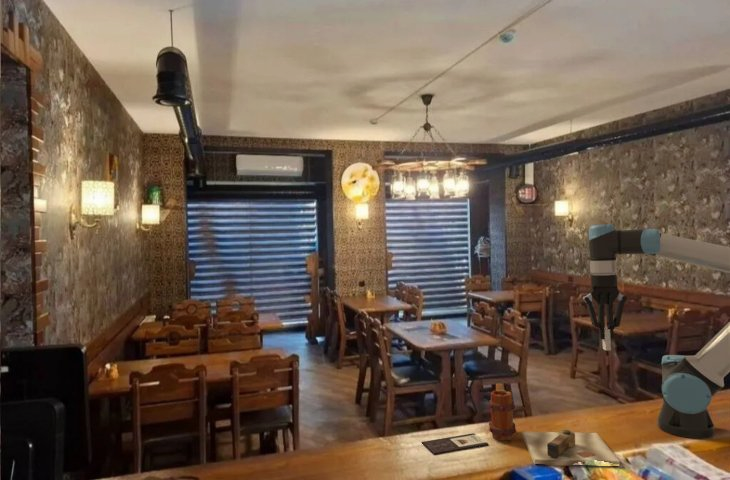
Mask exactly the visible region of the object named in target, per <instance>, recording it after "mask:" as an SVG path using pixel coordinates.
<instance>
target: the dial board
mask: <svg viewBox="0 0 730 480" xmlns="http://www.w3.org/2000/svg"><path fill="white" fill-rule="evenodd" d="M573 432H574V431H573ZM574 433H575V446H574V447H568V448H567V449H566V450H565V451H563V452H562V453H561V454H560V455H559V456H558V457H557V458H556V457H552V456H548V450H547V444H548V443H549V442H551V441H552V440H554V439H555V438H556V437H557V436H559V431H521V436H522V438H523V441H524V443H525V446H526V448H527V450H528V453H529V455H530V457H531V459H532V461H533V464H534V465H535V464H546V465H545V466H566V467H567V466H568V467H569V466H570V467H571V466H572V465H573V464H574V463H578V462H581V463H583V462H585V461H588V460H597V461H604V462H609V463H613V464H619V465H620V466H621V463H620V462H621V460H620V459H618V458H617V456H616V455H615V454H614V452H613V451H612V450H611V449H610V448H609V447H608V445H607V443H605V442H604V440H603V439H602V438H601V436H599V434H598V433H597V432H576V431H575V432H574ZM572 467H573V466H572Z"/></svg>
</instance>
